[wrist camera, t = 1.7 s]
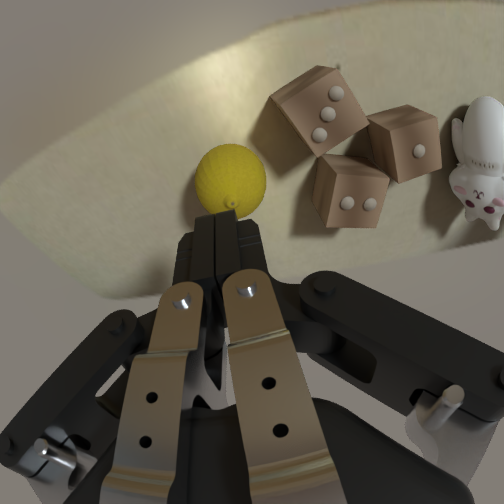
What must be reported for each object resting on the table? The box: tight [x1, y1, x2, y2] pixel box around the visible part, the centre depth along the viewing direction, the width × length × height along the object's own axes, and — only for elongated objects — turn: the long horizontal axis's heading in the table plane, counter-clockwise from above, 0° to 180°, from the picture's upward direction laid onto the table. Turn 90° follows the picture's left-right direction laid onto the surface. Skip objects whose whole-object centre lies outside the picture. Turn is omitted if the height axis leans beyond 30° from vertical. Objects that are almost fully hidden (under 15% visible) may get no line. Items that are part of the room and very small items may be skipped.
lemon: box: [195, 144, 266, 219], centre depth 23 cm, size 6×6×8 cm
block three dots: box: [270, 66, 370, 158], centre depth 21 cm, size 5×5×5 cm
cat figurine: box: [449, 96, 504, 231], centre depth 23 cm, size 10×8×15 cm
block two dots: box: [312, 154, 390, 228], centre depth 26 cm, size 5×5×5 cm
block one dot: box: [366, 105, 442, 184], centre depth 23 cm, size 5×5×5 cm
